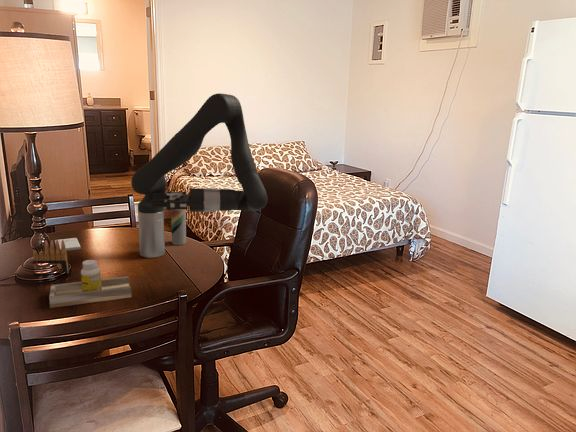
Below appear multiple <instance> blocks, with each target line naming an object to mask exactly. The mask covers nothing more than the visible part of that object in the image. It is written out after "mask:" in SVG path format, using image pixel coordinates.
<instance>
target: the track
mask: <svg viewBox="0 0 576 432" xmlns="http://www.w3.org/2000/svg"><path fill="white" fill-rule="evenodd" d="M101 286H102V290H95V291H87V292H83V291H82V281H74V282H73V281H72V282H65V283H56V284H51V286H50V290H49V297H48V299H49V308H50V309H54V308H60V307H67V306H75V305H82V304H91V303H97V302H98V303H99V302H106V301H115V300H121V299H129V298H132V286H130V280H129V276H128V275H127V276H119V277H118V276H117V277H112V278H111V277H110V278H108V277H107V278H101Z"/></svg>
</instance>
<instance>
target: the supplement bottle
mask: <svg viewBox="0 0 576 432" xmlns="http://www.w3.org/2000/svg"><path fill="white" fill-rule="evenodd" d="M81 264H82V269H81V270H80V279H81V281H80V282H82V291H83V292H87V291H95V290H102V286H101V279H102V277H101V276H102V275H101V268H100V267H98V261H97V260H95V259H86V260H84V261H82V263H81Z"/></svg>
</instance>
